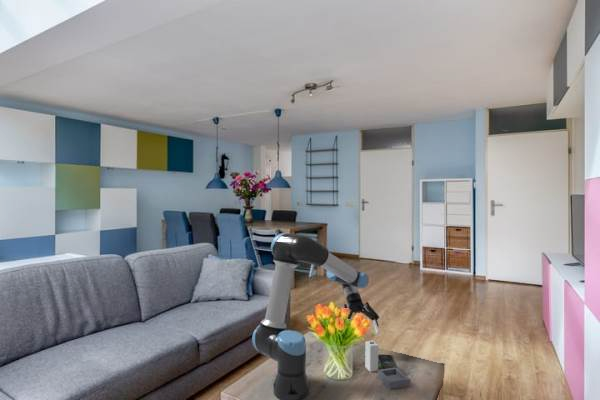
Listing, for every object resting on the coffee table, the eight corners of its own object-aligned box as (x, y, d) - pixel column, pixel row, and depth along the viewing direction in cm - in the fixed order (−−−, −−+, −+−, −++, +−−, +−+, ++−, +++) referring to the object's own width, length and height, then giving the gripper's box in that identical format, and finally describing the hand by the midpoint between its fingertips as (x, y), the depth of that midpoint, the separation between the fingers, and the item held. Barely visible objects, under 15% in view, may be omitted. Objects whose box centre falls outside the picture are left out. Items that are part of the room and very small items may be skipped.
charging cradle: (389, 389, 149) (389, 382, 149) (377, 376, 159) (377, 370, 159) (409, 385, 151) (409, 378, 151) (396, 373, 161) (396, 367, 161)
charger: (370, 371, 163) (370, 344, 163) (365, 366, 168) (365, 340, 168) (377, 370, 164) (378, 343, 164) (372, 365, 169) (373, 339, 169)
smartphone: (381, 369, 165) (376, 354, 180) (381, 371, 165) (376, 356, 180) (398, 369, 164) (391, 354, 179) (398, 371, 164) (391, 356, 179)
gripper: (371, 297, 194) (385, 335, 180) (328, 301, 187) (339, 340, 173) (376, 290, 189) (390, 328, 175) (332, 294, 182) (344, 334, 168)
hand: (365, 334), depth 174 cm, fingers open, 13 cm apart
